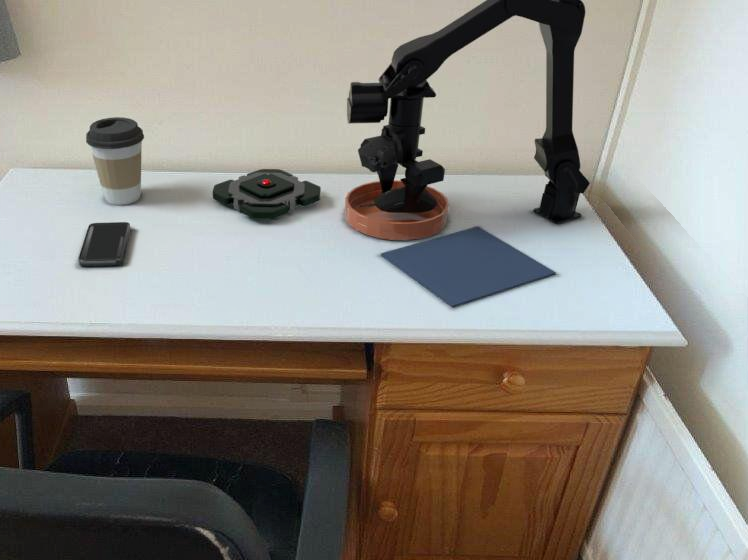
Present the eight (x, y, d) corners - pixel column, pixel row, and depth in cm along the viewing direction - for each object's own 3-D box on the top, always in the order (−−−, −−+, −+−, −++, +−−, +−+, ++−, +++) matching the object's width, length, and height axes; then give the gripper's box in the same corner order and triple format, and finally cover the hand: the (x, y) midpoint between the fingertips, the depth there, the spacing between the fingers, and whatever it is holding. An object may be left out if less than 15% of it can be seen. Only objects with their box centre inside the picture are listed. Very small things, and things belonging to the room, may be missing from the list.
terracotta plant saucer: (406, 190, 159) (407, 173, 157) (467, 226, 146) (470, 209, 143) (325, 209, 152) (326, 192, 150) (382, 250, 139) (384, 232, 137)
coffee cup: (121, 182, 165) (112, 111, 156) (162, 194, 159) (155, 122, 150) (83, 201, 158) (71, 128, 148) (123, 214, 152) (114, 139, 143)
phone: (77, 261, 135) (89, 222, 147) (78, 267, 135) (90, 228, 147) (122, 260, 135) (131, 221, 147) (123, 265, 136) (131, 227, 147)
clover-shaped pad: (204, 200, 157) (203, 178, 154) (270, 176, 166) (270, 155, 163) (262, 229, 146) (261, 207, 143) (329, 202, 155) (330, 180, 152)
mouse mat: (477, 228, 145) (477, 226, 145) (555, 274, 131) (556, 272, 131) (380, 255, 137) (380, 253, 137) (452, 307, 123) (452, 305, 123)
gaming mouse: (357, 199, 150) (359, 180, 148) (433, 198, 150) (436, 179, 148) (360, 214, 146) (362, 195, 143) (439, 214, 146) (442, 194, 143)
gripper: (338, 114, 141) (334, 194, 151) (398, 146, 128) (390, 232, 138) (388, 104, 145) (381, 182, 155) (452, 134, 132) (440, 218, 142)
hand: (396, 203), depth 147 cm, fingers closed on gaming mouse, 7 cm apart
